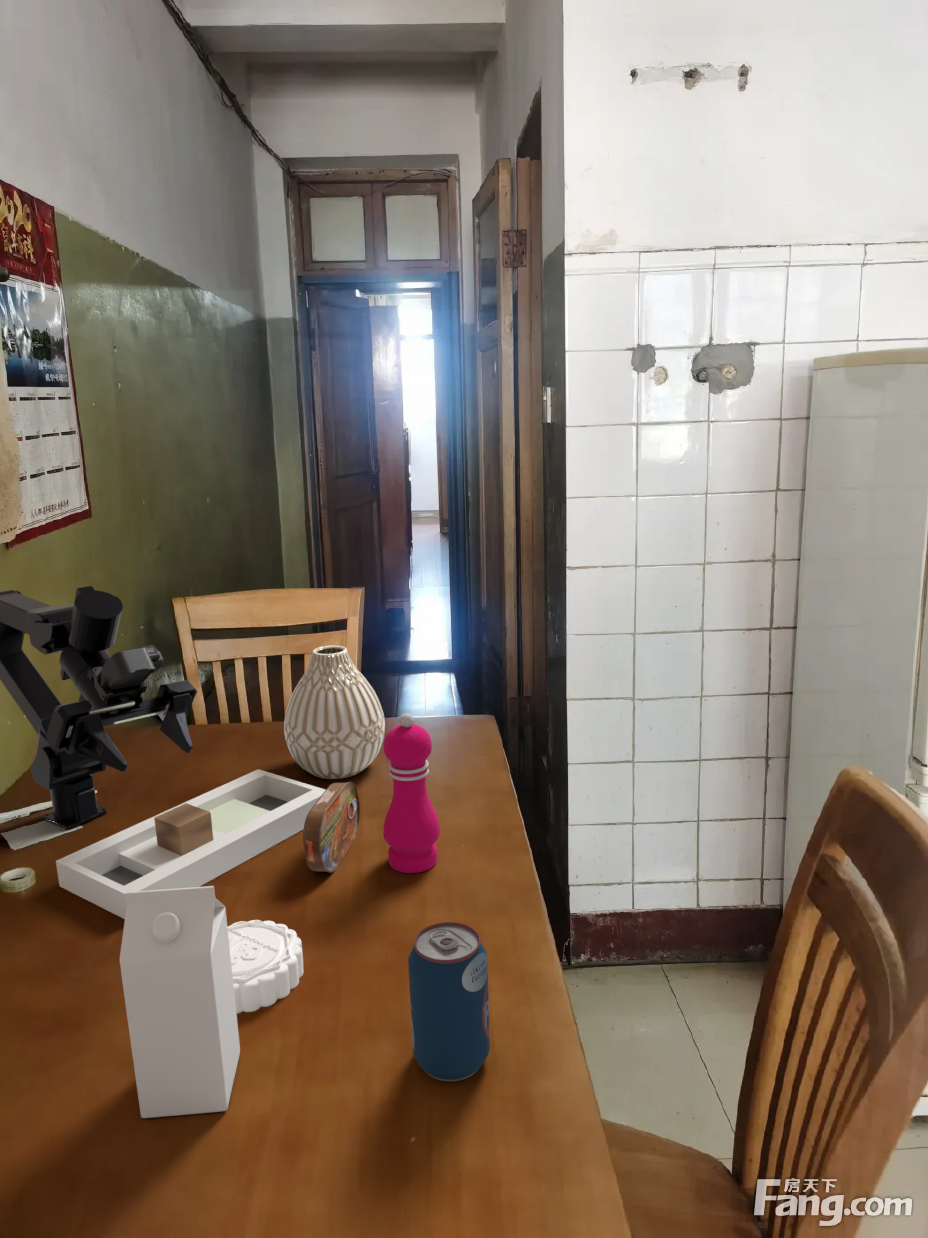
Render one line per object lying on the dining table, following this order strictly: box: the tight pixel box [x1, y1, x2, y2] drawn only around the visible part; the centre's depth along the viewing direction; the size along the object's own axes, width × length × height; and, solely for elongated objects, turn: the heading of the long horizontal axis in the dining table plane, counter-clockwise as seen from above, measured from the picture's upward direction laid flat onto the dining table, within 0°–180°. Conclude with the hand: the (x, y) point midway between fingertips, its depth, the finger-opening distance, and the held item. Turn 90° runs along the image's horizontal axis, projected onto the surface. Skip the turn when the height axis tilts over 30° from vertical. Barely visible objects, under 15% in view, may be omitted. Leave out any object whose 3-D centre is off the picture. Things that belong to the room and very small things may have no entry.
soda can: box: [407, 921, 491, 1082], centre depth 79 cm, size 7×7×12 cm
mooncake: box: [227, 919, 304, 1015], centre depth 93 cm, size 12×12×4 cm
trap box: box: [55, 768, 326, 920], centre depth 120 cm, size 15×33×4 cm, turn 145°
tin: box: [302, 781, 361, 873], centre depth 117 cm, size 15×3×8 cm, turn 168°
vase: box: [283, 645, 386, 780], centre depth 143 cm, size 16×16×20 cm
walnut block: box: [154, 802, 213, 856], centre depth 117 cm, size 5×5×4 cm
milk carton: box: [119, 885, 241, 1119], centre depth 76 cm, size 7×7×19 cm
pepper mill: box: [382, 713, 441, 874], centre depth 113 cm, size 7×7×20 cm
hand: (159, 759), depth 111 cm, fingers open, 9 cm apart
